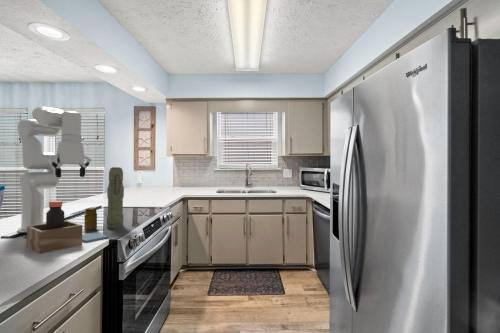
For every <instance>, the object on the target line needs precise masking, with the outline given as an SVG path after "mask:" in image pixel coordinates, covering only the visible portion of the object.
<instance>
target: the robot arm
mask: <svg viewBox="0 0 500 333" xmlns="http://www.w3.org/2000/svg"><path fill="white" fill-rule="evenodd" d="M31 116H32V118H33V119H31V118H30V119H29V118H26V119H25V118H24V119H20V120H19V121H18V124H17V134H18V136H19V139H20V142H21V145H22V146H21V147H22V165H23V167H24V169H27V170H34V171H28V172H24V173H22V174H21V175H20V177H19V185H20V190H21V215H20V216H21V219H20V220H21V222H20V223H21V224H20V225H21V227H18V228H17V233H18V232H19V233H27V226H33V225H40V224H44V212H45V211H44V208H45V206H44V205H45V201H44V200H45V198H44V195H43V193H41V192H40V191H39V190H47V189H48V190H49V189H56V188H57V187H58V186H59V184H60V178H62V168H61V167H62V166H63V165H79V167H80V168H79V177H81V178H84V177H85V175H86V169H87V167H89V165H90V163H91V162H92V158H90V157H88V156H86V155H85V149H84V145H83V142H82V141H85V138H84V137H82V115H81V113H80V112H77V111H71V110H70V111H69V110H67V111H64V110H62V109H61V108H60V109H59V108H55V107H54V108H53V107H49V106H38V107H35V108H34V109H33V110H32V113H31ZM60 132H61V133H60ZM59 134H61V138H60V141H58V145H57V148H56V154H55V153H53V152H43V144H42V142H41V141H40V140H39V138H38V136H39V137H50V138H53V137H57V136H58V135H59ZM36 136H37V137H36ZM35 170H37V171H35ZM38 170H39V171H38ZM41 170H42V171H41ZM43 170H44V171H43ZM45 170H46V171H45Z"/></svg>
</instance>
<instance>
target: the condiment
mask: <svg viewBox="0 0 500 333" xmlns="http://www.w3.org/2000/svg"><path fill="white" fill-rule="evenodd" d="M83 226H84V229H82V233H83V232H85V233H86V232H100V231H101V230H103V228H101V227H98V212H97V208H96V207H90V208H86V209H85V214H84V224H83Z"/></svg>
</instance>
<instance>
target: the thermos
mask: <svg viewBox="0 0 500 333" xmlns="http://www.w3.org/2000/svg"><path fill="white" fill-rule="evenodd" d="M123 181H124V171H123V168H122V167H118V166H115V167H114V166H113V167H110V169H109V171H108V185H107V188H106V189H107V190H106V191H107V193H106V195H107V196H106V197H107V215H106V229H112V230H114V229H120V228H123V227H124V214H123V211H124V210H123V209H124V208H123V206H124V205H123V204H124V196H125V195H124V194H125V187H124V183H123Z"/></svg>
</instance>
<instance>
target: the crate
mask: <svg viewBox="0 0 500 333" xmlns="http://www.w3.org/2000/svg"><path fill="white" fill-rule="evenodd" d="M82 235H83V224H80V223H77V222H74V221H71V220H64V228H58V229H51V230H46V223H43V224H40V225H33V226H27V232H26V247H27V248H29V249H30V248H31V249H30V250H32V251H35V252H37V253H38V254H43V253H49V252H54V251H58V250H62V249H67V247H68V248H71V247H72V246H73V247H77V246H81V245H83V241H82ZM76 245H77V246H76Z"/></svg>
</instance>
